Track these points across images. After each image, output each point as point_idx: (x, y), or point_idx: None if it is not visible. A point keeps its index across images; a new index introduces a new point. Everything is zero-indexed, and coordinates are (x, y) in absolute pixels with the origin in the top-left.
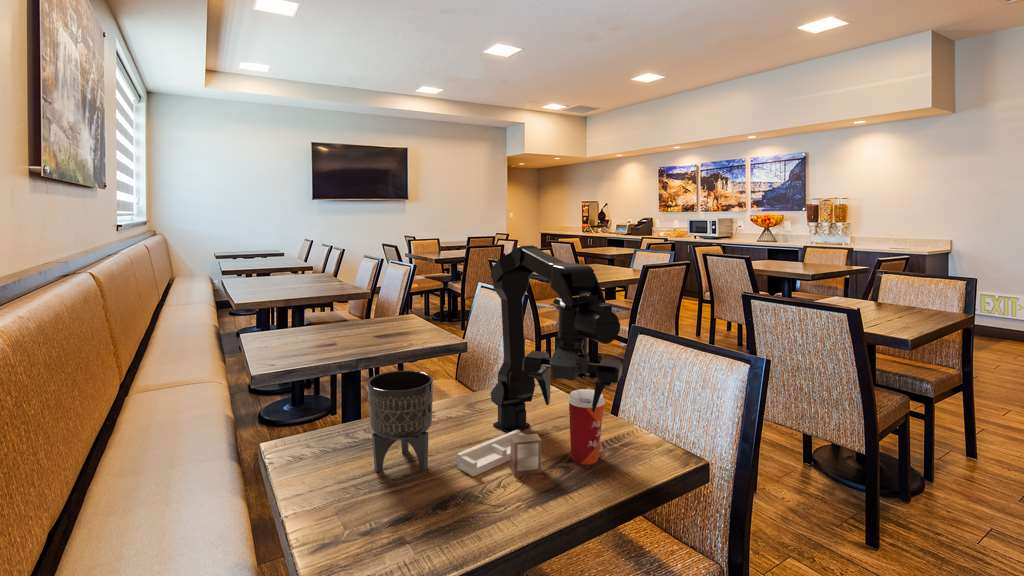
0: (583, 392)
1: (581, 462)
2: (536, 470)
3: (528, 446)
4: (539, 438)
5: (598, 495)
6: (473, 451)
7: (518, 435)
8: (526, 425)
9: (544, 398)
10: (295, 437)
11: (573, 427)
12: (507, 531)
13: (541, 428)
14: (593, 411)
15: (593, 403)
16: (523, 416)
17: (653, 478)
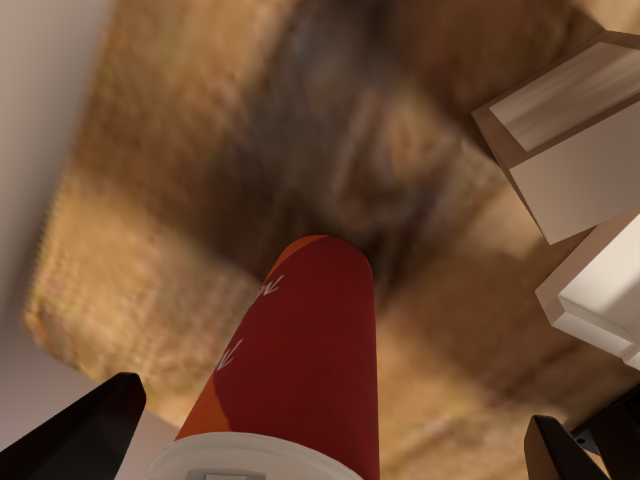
0: None
1: (322, 237)
2: (495, 102)
3: (590, 105)
4: (526, 184)
5: (188, 14)
6: None
7: (627, 336)
8: (585, 433)
9: (605, 478)
10: None
11: (343, 338)
12: None
13: (521, 428)
14: (122, 372)
15: (66, 428)
16: (619, 460)
17: (78, 213)
